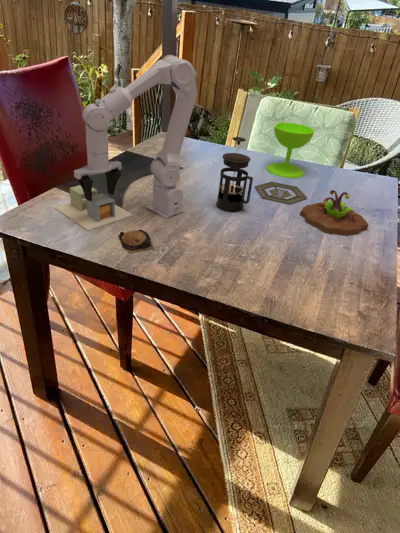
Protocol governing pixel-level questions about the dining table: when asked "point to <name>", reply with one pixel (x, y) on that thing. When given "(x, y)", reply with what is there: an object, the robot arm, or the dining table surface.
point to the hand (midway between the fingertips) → (100, 196)
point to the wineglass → (290, 147)
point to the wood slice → (136, 241)
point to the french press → (233, 190)
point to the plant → (334, 216)
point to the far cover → (79, 196)
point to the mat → (85, 219)
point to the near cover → (98, 201)
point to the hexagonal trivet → (285, 194)
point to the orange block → (104, 211)
